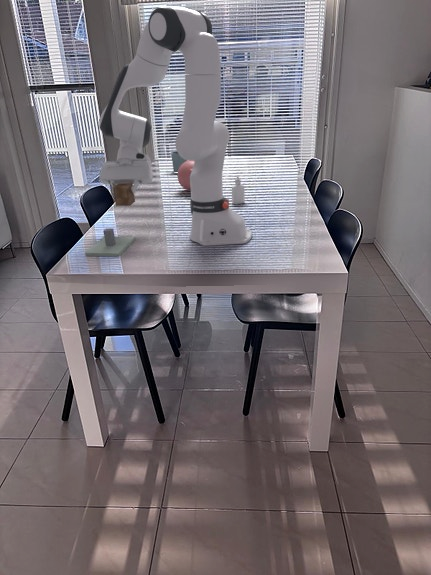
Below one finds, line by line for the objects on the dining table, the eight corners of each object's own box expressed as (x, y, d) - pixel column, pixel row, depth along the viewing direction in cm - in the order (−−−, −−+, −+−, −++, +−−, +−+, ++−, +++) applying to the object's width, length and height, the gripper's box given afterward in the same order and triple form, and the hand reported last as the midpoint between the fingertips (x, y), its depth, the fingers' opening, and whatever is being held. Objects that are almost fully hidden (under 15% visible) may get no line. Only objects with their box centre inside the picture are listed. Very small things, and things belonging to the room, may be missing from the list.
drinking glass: (174, 170, 267) (173, 150, 262) (190, 170, 266) (189, 150, 261) (171, 174, 258) (169, 153, 253) (187, 173, 257) (185, 153, 252)
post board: (135, 239, 157) (132, 222, 154) (119, 256, 143) (116, 237, 140) (104, 239, 159) (101, 222, 156) (85, 255, 145) (81, 237, 142)
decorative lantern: (179, 198, 206) (176, 165, 200) (178, 188, 224) (175, 158, 217) (211, 196, 207) (209, 163, 201) (207, 186, 225) (206, 156, 218)
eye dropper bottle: (232, 201, 196) (231, 175, 191) (244, 201, 196) (244, 175, 190) (231, 204, 192) (230, 177, 187) (244, 204, 192) (243, 177, 186)
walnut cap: (135, 201, 163) (132, 183, 160) (130, 205, 159) (127, 186, 155) (121, 201, 164) (118, 183, 161) (115, 205, 160) (112, 187, 156)
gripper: (99, 156, 162) (93, 188, 158) (151, 154, 159) (146, 187, 154) (106, 166, 168) (100, 197, 164) (156, 164, 164) (151, 196, 160)
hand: (123, 192), depth 159 cm, fingers closed on walnut cap, 6 cm apart
